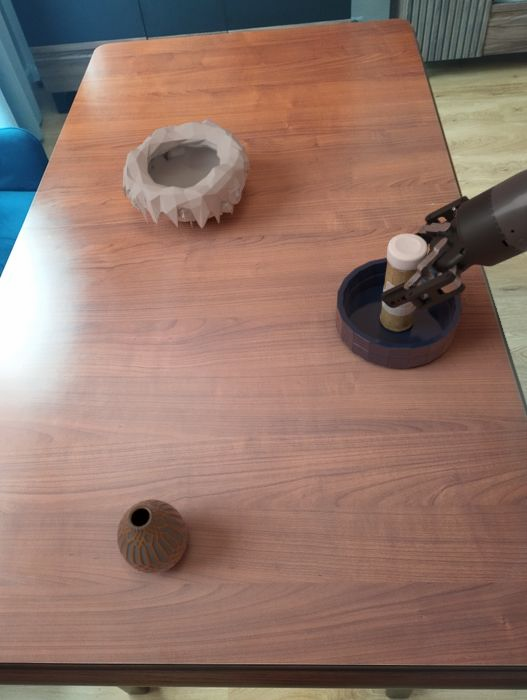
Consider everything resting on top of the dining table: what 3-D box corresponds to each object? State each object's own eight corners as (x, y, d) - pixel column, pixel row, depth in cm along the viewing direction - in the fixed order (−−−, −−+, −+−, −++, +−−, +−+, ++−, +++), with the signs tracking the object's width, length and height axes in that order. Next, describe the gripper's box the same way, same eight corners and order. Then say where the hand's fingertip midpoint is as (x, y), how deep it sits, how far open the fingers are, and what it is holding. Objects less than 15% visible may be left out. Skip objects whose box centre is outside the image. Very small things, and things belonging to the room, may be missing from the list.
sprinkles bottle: (391, 302, 80) (402, 226, 69) (420, 317, 78) (436, 241, 67) (372, 323, 78) (380, 248, 67) (401, 339, 76) (414, 264, 65)
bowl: (279, 184, 98) (275, 130, 90) (212, 262, 88) (201, 209, 80) (179, 155, 106) (168, 103, 98) (108, 223, 96) (88, 171, 88)
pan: (475, 355, 74) (482, 333, 70) (356, 381, 73) (357, 360, 69) (429, 271, 83) (434, 247, 80) (323, 293, 82) (323, 270, 79)
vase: (139, 593, 60) (114, 566, 53) (121, 533, 64) (96, 500, 57) (201, 563, 61) (186, 533, 54) (180, 506, 65) (163, 471, 58)
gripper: (500, 150, 62) (384, 218, 74) (486, 238, 54) (359, 299, 66) (539, 197, 65) (421, 256, 77) (531, 288, 57) (401, 337, 69)
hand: (392, 276), depth 72 cm, fingers open, 8 cm apart
